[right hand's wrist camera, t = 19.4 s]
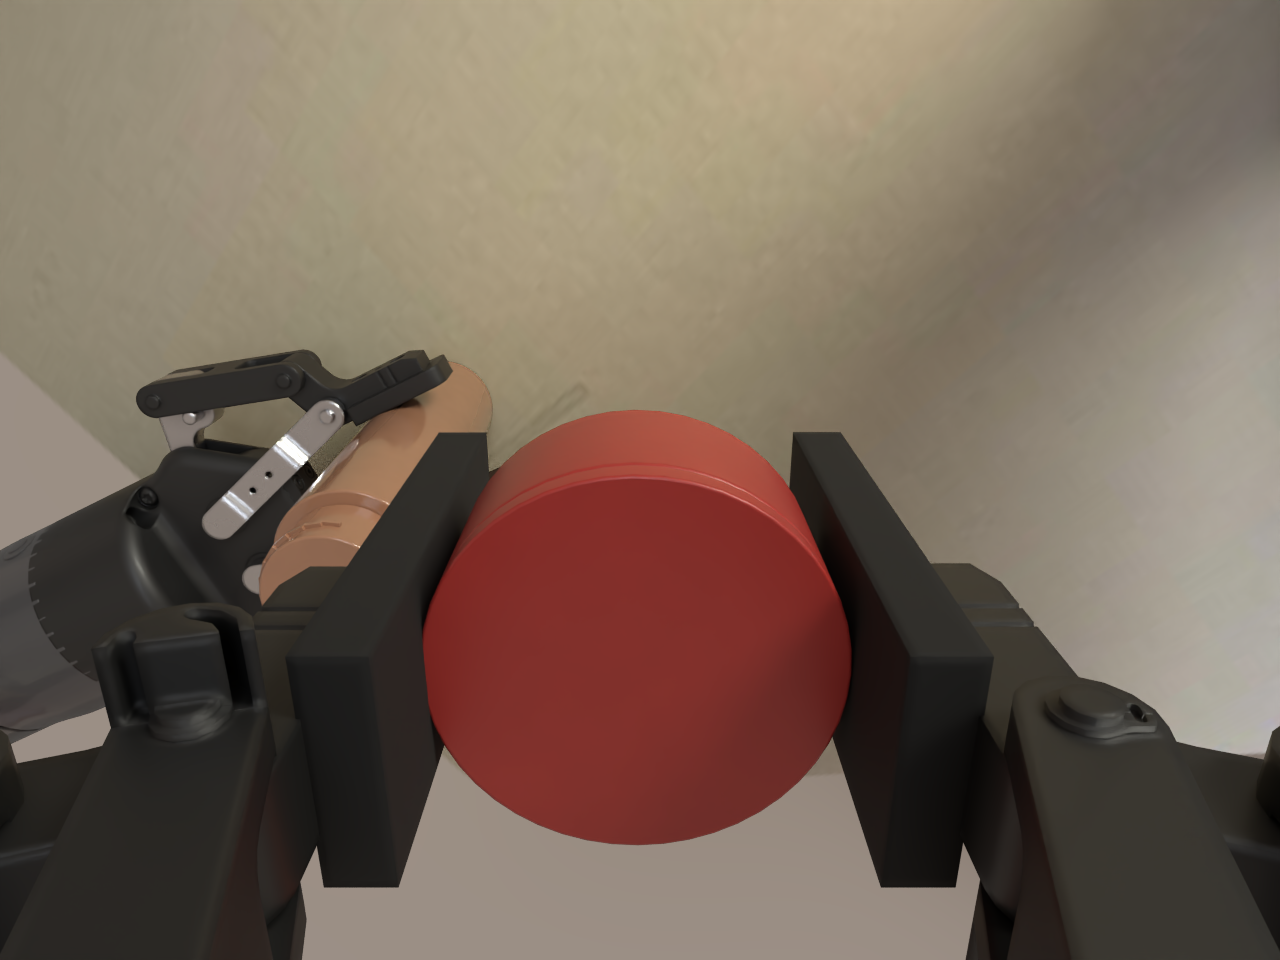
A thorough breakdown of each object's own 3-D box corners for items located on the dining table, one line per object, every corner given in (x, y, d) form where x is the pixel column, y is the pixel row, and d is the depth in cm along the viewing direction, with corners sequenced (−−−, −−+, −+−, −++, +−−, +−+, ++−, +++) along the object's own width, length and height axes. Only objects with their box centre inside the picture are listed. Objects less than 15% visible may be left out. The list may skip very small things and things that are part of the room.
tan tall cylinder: (410, 347, 39) (260, 500, 22) (504, 378, 40) (426, 550, 23) (386, 434, 40) (227, 641, 24) (477, 463, 41) (386, 685, 24)
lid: (580, 774, 14) (567, 903, 11) (388, 521, 12) (330, 610, 10) (871, 632, 13) (923, 740, 10) (705, 339, 11) (721, 390, 9)
